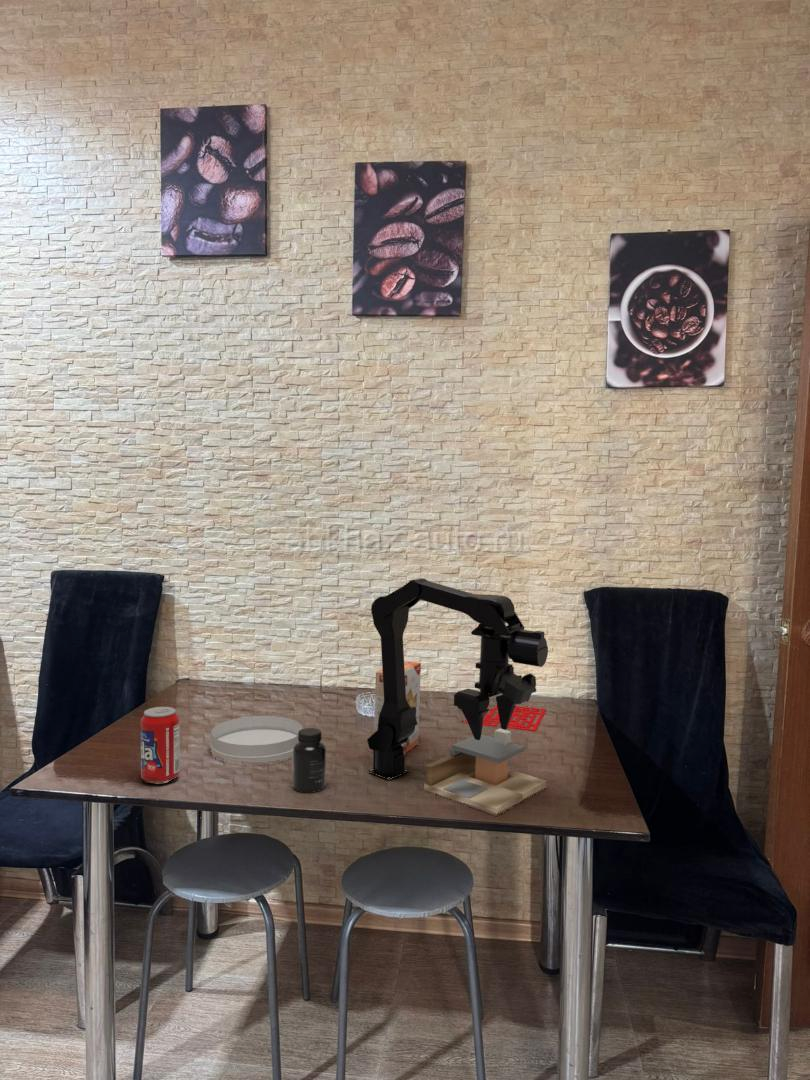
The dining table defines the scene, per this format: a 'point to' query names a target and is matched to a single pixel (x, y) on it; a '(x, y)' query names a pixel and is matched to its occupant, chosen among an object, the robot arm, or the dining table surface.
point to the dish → (255, 738)
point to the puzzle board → (477, 784)
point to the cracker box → (411, 696)
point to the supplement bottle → (309, 761)
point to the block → (491, 771)
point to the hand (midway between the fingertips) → (491, 734)
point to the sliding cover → (489, 747)
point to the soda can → (160, 744)
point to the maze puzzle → (517, 718)
